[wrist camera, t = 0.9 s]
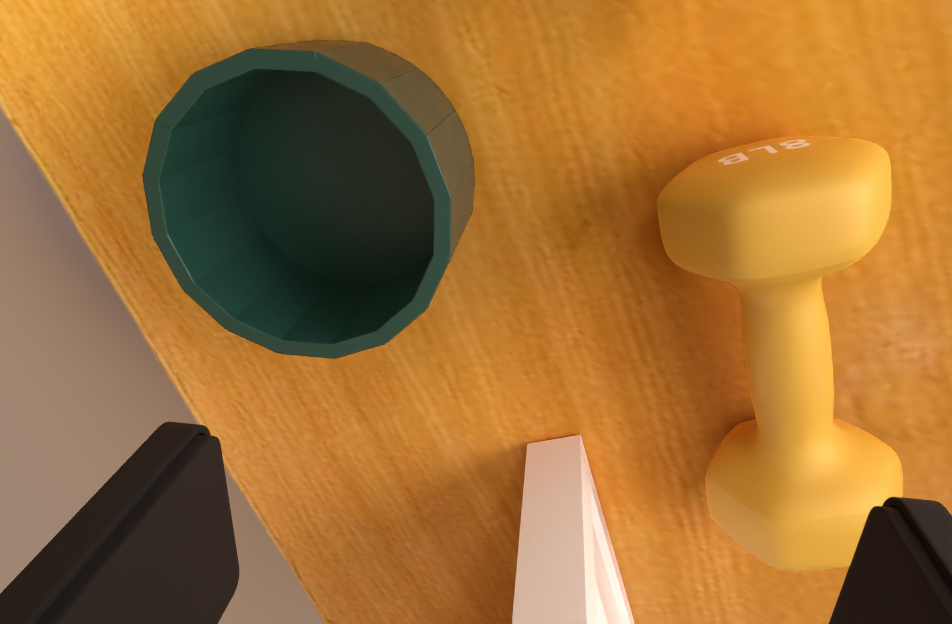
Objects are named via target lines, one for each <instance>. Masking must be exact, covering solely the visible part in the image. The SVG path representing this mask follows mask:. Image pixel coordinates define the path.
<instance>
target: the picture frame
mask: <svg viewBox="0 0 952 624" xmlns="http://www.w3.org/2000/svg"><path fill="white" fill-rule="evenodd" d="M512 624H634V620H633V617H632V613H631V610H630V606H629V603H628V599H627V596H626V592H625V589H624V585H623V582H622V578H621V575H620V571H619V568H618V564H617V561H616V557H615V554H614V550H613V547H612V543H611V540H610V536H609V533H608V529H607V526H606V522H605V519H604V515H603V512H602V508H601V505H600V501H599V498H598V494H597V491H596V487H595V484H594V480H593V477H592V473H591V470H590V466H589V463H588V459H587V456H586V452H585V449H584V445H583V442H582V438H581V436H580V435H576V436H570V437H564V438H558V439H553V440H547V441H541V442H535V443H529V444H527V454H526V466H525V477H524V489H523V501H522V512H521V524H520V536H519V547H518V559H517V571H516V582H515V594H514V605H513V617H512Z"/></svg>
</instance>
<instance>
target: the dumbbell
mask: <svg viewBox="0 0 952 624" xmlns="http://www.w3.org/2000/svg"><path fill="white" fill-rule="evenodd" d="M890 208H891V165H890V159H889V155H888V153H887V152H886V151H885V150H884V148H882V147H881V146H880V145H878V144H876V143H874V142H870V141H866V140H862V139H857V138H847V137H833V136H788V137H780V138H773V139H768V140H763V141H758V142H754V143H749V144H745V145H741V146H737V147H733V148H729V149H726V150H722V151H719V152H716V153H712V154H709V155H707V156H705V157H702V158H700V159H698V160H697V161H695V162H693V163H691V164H690V165H689V166H687V167H686V168H685V169H684V170H683V171H681V172H680V173H679V174H678V175H676V176H675V177H674V178H673V179H672V180H671V181H670V182H669V183H668V184H667V185H666V186H665V187H664V189H663V190H662V191H661V193H660V195H659V197H658V200H657V214H658V221H659V227H660V233H661V238H662V242H663V245H664V248H665V251H666V253H667V255H668V256H669V258H670V259H671V260H672V261H673V262H674V263H675V264H676V265H677V266H679V267H680V268H682V269H684V270H687V271H689V272H692V273H694V274H697V275H700V276H703V277H707V278H710V279H714V280H718V281H722V282H726V283H730V284H732V285H733V286H735V287H736V289H737V290H738V291H739V294H740V304H741V331H742V342H743V353H744V362H745V369H746V375H747V380H748V385H749V391H750V396H751V400H752V404H753V408H754V412H755V416H756V419H754V420H750V421H746V422H743V423H740V424H738V425H736V426H735V427H733V428H732V429H731V431H730V432H729V433H728V434H727V435H726V437H725V438H724V439H723V441H722V442H721V444H720V446H719V447H718V449H717V451H716V452H715V454H714V456H713V458H712V460H711V462H710V464H709V467H708V470H707V473H706V476H705V491H706V499H707V504H708V510H709V513H710V516H711V518H712V520H713V521H714V523H715V524H716V525H717V526H718V527H719V528H720V529H721V530H722V531H723V532H724V533H725V534H727V535H728V536H729V537H730V538H731V539H732V540H734V541H735V542H736V543H737V544H739V545H740V546H741V547H742V548H744V549H745V550H746V551H748V552H749V553H750V554H751V555H753V556H754V557H756V558H757V559H758V560H760V561H761V562H763V563H764V564H766V565H768V566H769V567H771V568H774V569H776V570H779V571H785V572H811V571H822V570H831V569H840V568H848V567H850V564H851V561H852V559H853V556H854V553H855V550H856V548H857V545H858V542H859V539H860V536H861V534H862V531H863V528H864V525H865V523H866V520H867V517H868V514H869V512H870V510H871V509H872V508H873V507H874V506H882V505H883V503H884V501H885V500H887V499H888V498H889V497H902V498H903V474H902V467H901V463H900V460H899V458H898V456H897V455H896V453H895V452H894V450H893V449H892V448H890V447H889V446H888V445H887V444H885V443H884V442H882V441H880V440H879V439H877V438H876V437H874V436H873V435H871V434H869V433H867V432H866V431H864V430H862V429H860V428H858V427H856V426H854V425H852V424H849V423H847V422H845V421H842V420H840V419H837V418H834V417H833V407H834V380H833V364H832V351H831V341H830V331H829V323H828V317H827V312H826V307H825V303H824V299H823V293H822V278H823V276H824V275H827V274H831V273H834V272H837V271H839V270H842V269H844V268H846V267H848V266H850V265H852V264H854V263H855V262H857V261H859V260H860V259H861V258H863V257H864V256H865V255H866V254H867V253H868V252H869V251H870V250H871V249H872V248H873V247H874V246H875V244H876V243H877V242H878V240H879V239H880V237H881V235H882V233H883V230H884V228H885V226H886V223H887V221H888V218H889V214H890Z"/></svg>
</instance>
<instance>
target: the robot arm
mask: <svg viewBox="0 0 952 624" xmlns="http://www.w3.org/2000/svg"><path fill="white" fill-rule="evenodd" d="M238 579H239V563H238V557H237V550H236V544H235V537H234V530H233V524H232V517H231V511H230V504H229V497H228V491H227V484H226V477H225V471H224V464H223V458H222V451H221V445H220V441H219V439H218V438H217V437H215V436H211V435H210V431H209V430H208V428H207V427H206V426H203V425H196V424H186V423H176V422H166V423H163V424H162V425H161V426H160V427H159V428H157V430H156V431H155V432H154V433H153V434H152V435H151V436H150V437H149V438H148V439H147V440H146V441H145V442H144V443H143V444H142V445H141V446H140V447H139V448H138V450H137V451H136V452H135V453H134V454H133V455H132V456H131V457H130V458H129V459H128V460H127V461H126V462H125V463H124V464H123V465H122V466H121V467H120V469H119V470H118V471H117V472H116V473H115V474H114V475H113V476H112V477H111V478H110V479H109V480H108V481H107V482H106V483H105V484H104V485H103V486H102V488H100V489H99V491H98V492H97V493H96V494H95V495H94V496H93V497H92V498H91V499H90V500H89V501H88V502H87V503H86V504H85V505H84V506H83V507H82V508H81V509H80V511H79V512H78V513H77V514H76V515H75V516H74V517H73V518H72V519H71V520H70V521H69V522H68V523H67V524H66V525H65V526H64V527H63V528H62V530H61V531H60V532H59V533H58V534H57V535H56V536H55V537H54V538H53V539H52V540H51V541H50V542H49V543H48V544H47V545H46V546H45V547H44V548H43V549H42V550H41V552H40V553H39V554H38V555H37V556H36V557H35V558H34V559H33V560H32V561H31V562H30V563H29V564H28V565H27V566H26V567H25V568H24V570H23V571H22V572H21V573H20V574H19V575H18V576H17V577H16V578H15V579H14V580H13V581H12V582H11V583H10V584H9V585H8V586H7V587H6V588H5V589H4V590H3V592H2V593H1V594H0V624H217V623H218V622H219V620H220V618H221V616H222V615H223V613H224V611H225V609H226V607H227V605H228V604H229V602H230V600H231V598H232V597H233V595H234V593H235V590H236V587H237V584H238ZM829 624H952V516H951V514H950V513H949V512H948V510H947V509H946V508H945V507H944V506H943V505H942V504H941V503H939V502H936V501H931V500H921V499H912V498H902V497H889V498H888V499H887V500H885V501H884V503H883V505H882V506H874V507H873V508H872V509H871V510H870V512H869V514H868V517H867V520H866V523H865V525H864V528H863V531H862V534H861V536H860V539H859V542H858V545H857V548H856V550H855V553H854V556H853V559H852V561H851V564H850V567H849V570H848V572H847V575H846V578H845V581H844V583H843V586H842V589H841V592H840V595H839V597H838V600H837V603H836V606H835V608H834V611H833V614H832V617H831V619H830V622H829Z"/></svg>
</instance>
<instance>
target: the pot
mask: <svg viewBox="0 0 952 624" xmlns="http://www.w3.org/2000/svg"><path fill="white" fill-rule="evenodd" d="M142 177H143V183H144V189H145V195H146V201H147V207H148V213H149V219H150V224H151V230H152V235H153V236H154V240H155V242H156V244H157V245H158V247H159V249H160V251H161V252H162V254H163V256H164V258H165V260H166V261H167V263H168V265H169V267H170V268H171V270H172V272H173V274H174V275H175V277H176V279H177V281H178V283H179V284H180V286H181V288H182V289H183V291H184V292H185V293H186V294H188V295H189V296H190V297H191V298H192V299H193V300H194V301H195V302H196V303H197V304H198V305H200V306H201V307H202V308H203V309H204V310H205V311H206V312H207V313H208V314H209V315H211V316H212V317H213V318H214V319H215V320H216V321H217V322H218V323H219V324H220V325H221V326H223V327H224V328H225V329H227V330H228V331H230V332H232V333H234V334H236V335H239V336H241V337H243V338H245V339H247V340H250V341H252V342H254V343H256V344H258V345H261V346H263V347H265V348H267V349H270V350H272V351H274V352H276V353H280V354H287V355H299V356H310V357H321V358H335V359H336V358H339V357H343V356H346V355H350V354H353V353H356V352H360V351H363V350H367V349H370V348H373V347H377V346H380V345H384V344H385V343H387V342H389V341H390V340H391V339H392V338H393V337H395V336H396V335H397V334H398V333H399V332H401V331H402V330H403V329H404V328H405V327H407V326H408V325H409V324H410V323H411V322H412V321H414V320H415V319H416V318H417V317H418V316H420V315H421V314H422V313H423V312H424V311H426V309H427V308H428V306H429V304H430V302H431V300H432V297H433V295H434V293H435V291H436V289H437V287H438V285H439V282H440V280H441V278H442V276H443V274H444V272H445V270H446V268H447V265H448V263H449V261H450V259H451V257H452V255H453V252H454V250H455V248H456V246H457V244H458V242H459V239H460V237H461V235H462V233H463V231H464V229H465V226H466V224H467V222H468V220H469V218H470V216H471V213H472V210H473V195H474V185H475V180H474V158H473V156H472V151H471V147H470V144H469V140H468V137H467V134H466V131H465V129H464V127H463V124H462V122H461V120H460V118H459V116H458V114H457V112H456V110H455V109H454V107H453V106H452V104H451V102H450V101H449V100H448V98H447V97H446V96H445V95H444V93H443V92H442V91H441V89H440V88H439V87H438V86H437V85H436V84H435V83H434V82H433V81H432V80H431V79H430V78H429V77H428V76H427V75H426V74H425V73H423V72H422V71H421V70H420V69H419V68H417V67H416V66H414V65H413V64H412V63H410V62H408V61H407V60H405V59H403V58H401V57H400V56H398V55H396V54H394V53H392V52H389V51H387V50H384V49H382V48H379V47H376V46H374V45H372V44H370V43H367V42H350V41H323V40H313V41H305V42H297V43H289V44H281V45H273V46H266V47H258V48H251V49H247V50H245V51H242V52H240V53H238V54H236V55H233V56H231V57H229V58H226V59H224V60H222V61H220V62H217V63H215V64H213V65H210V66H208V67H206V68H204V69H201V70H199V71H197V72H195V73H194V74H192V75H191V76H190V77H189V79H188V80H187V81H186V82H185V84H184V85H183V86H182V87H181V89H180V90H179V91H178V92H177V94H176V95H175V96H174V97H173V99H172V100H171V101H170V102H169V103H168V105H167V106H166V107H165V108H164V110H163V111H162V112H161V113H160V115H159V116H158V117H157V119H156V120H155V124H154V128H153V132H152V137H151V141H150V146H149V150H148V154H147V159H146V163H145V167H144V172H143V176H142Z"/></svg>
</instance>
